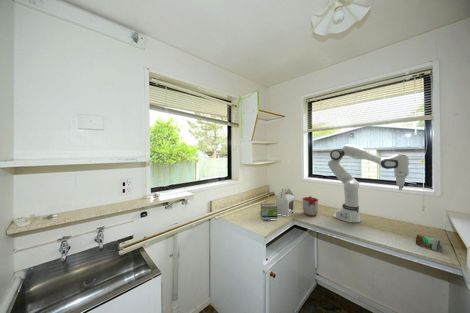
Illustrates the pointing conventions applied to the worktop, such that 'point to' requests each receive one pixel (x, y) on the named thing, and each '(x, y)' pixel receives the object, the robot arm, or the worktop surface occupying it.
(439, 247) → the mat
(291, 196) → the gable box
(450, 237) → the worktop surface
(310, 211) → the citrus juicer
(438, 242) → the food container
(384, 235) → the worktop surface
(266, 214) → the tea box
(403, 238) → the worktop surface
